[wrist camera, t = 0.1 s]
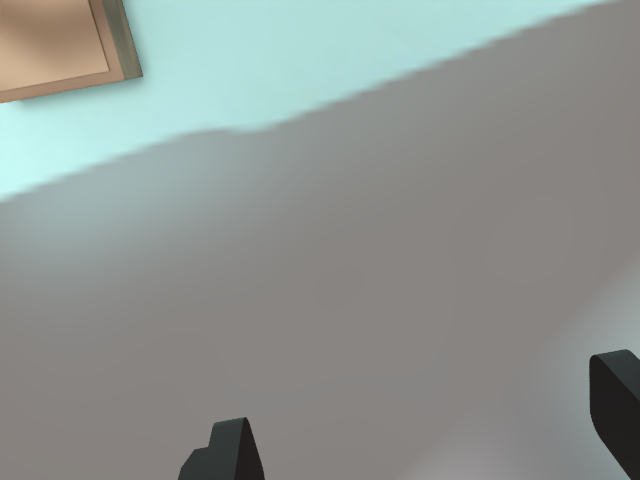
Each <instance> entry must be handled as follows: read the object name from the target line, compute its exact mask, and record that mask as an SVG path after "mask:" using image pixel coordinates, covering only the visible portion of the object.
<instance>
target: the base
mask: <svg viewBox="0 0 640 480" xmlns="http://www.w3.org/2000/svg"><path fill="white" fill-rule="evenodd" d="M140 76H143V75H142V71H141V68H140V64H139V61H138V57H137V53H136V50H135V46H134V43H133V39H132V36H131V32H130V29H129V25H128V22H127V18H126V14H125V11H124V7H123V4H122V0H0V103H5V102H11V101H16V100H21V99H27V98H32V97H37V96H43V95H48V94H53V93H59V92H64V91H69V90H75V89H80V88H85V87H90V86H96V85H101V84H106V83H112V82H117V81H122V80H127V79H132V78H136V77H140Z"/></svg>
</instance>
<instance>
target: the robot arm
mask: <svg viewBox="0 0 640 480" xmlns="http://www.w3.org/2000/svg"><path fill="white" fill-rule="evenodd" d="M589 363H590V364H589V368H590V369H589V376H590V377H589V378H590V414H591V418H592V422H593V425H594V427H595V430H596V432H597V434H598V435H599V437H600V438H601V440H602V441H603V443H604V444H605V445H606V447H607V448H608V449H609V451H610V452H611V453H612V455H613V456H614V458H615V459H616V460H617V462H618V463H619V464H620V466H621V467H622V468H623V470H624V471H625V472H626V474H627V475H628V476H629V478H630V479H631V480H640V360H639V359H638V358H637V357H636V356H635V355H634V354H633V353H632V352H631V351H629V350H619V351H614V352H608V353H603V354H597V355H593V356H592V357H591V358H590V362H589ZM178 480H265V478H264V471H263V467H262V463H261V460H260V457H259V453H258V450H257V447H256V443H255V440H254V437H253V434H252V430H251V427H250V424H249V421H248V419H247V418H246V417H244V418H238V419H233V420H227V421H222V422H216V423H214V425H213V428H212V433H211V437H210V441H209V446H208V447H206V448H200V449H195V450H194V451H193V452H192V454H191V455H190V456H189V458H188V459H187V461H186V462H185V463H184V465H183V466H182V468H181V471H180V474H179V477H178Z"/></svg>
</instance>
